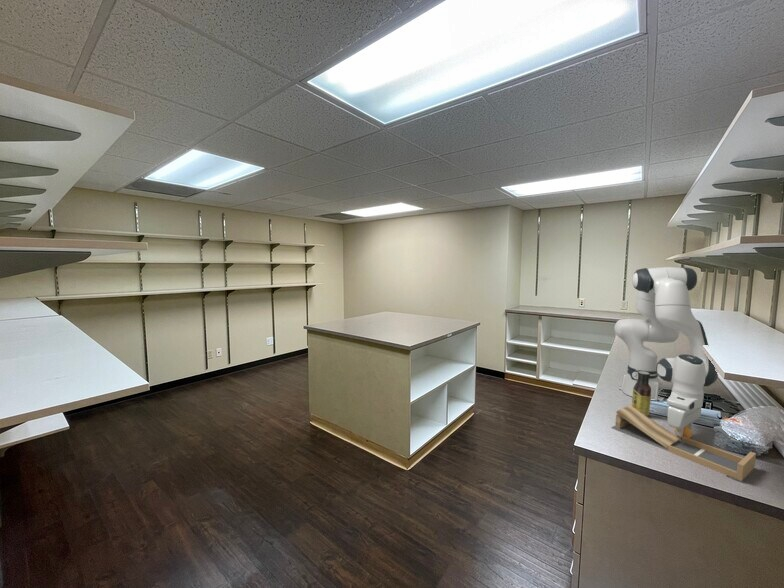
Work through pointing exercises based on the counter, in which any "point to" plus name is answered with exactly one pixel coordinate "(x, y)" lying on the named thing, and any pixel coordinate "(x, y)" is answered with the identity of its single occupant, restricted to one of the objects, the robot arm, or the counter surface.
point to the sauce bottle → (642, 393)
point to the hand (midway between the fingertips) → (683, 433)
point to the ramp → (644, 425)
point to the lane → (702, 454)
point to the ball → (685, 432)
